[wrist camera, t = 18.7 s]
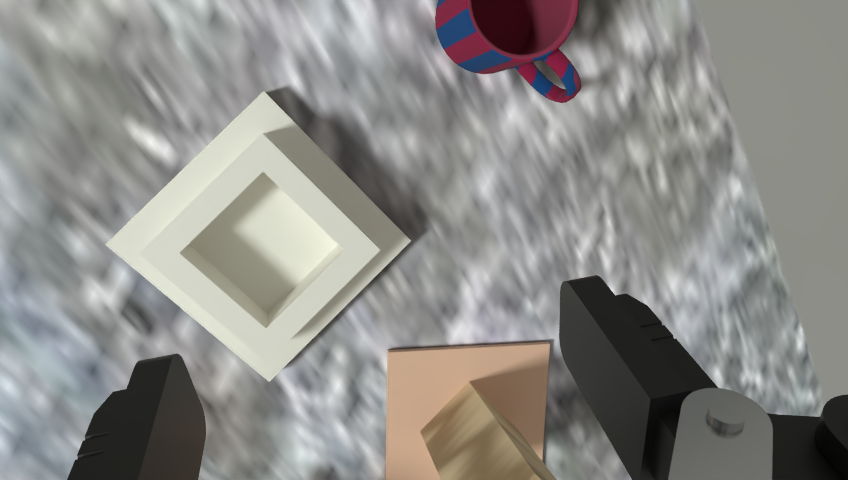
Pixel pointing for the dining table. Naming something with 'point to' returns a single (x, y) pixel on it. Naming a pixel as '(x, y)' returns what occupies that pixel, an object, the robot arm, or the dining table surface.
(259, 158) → the socket stand
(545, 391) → the terracotta mat
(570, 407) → the dining table surface
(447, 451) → the oak bar
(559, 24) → the mug
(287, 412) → the dining table surface
